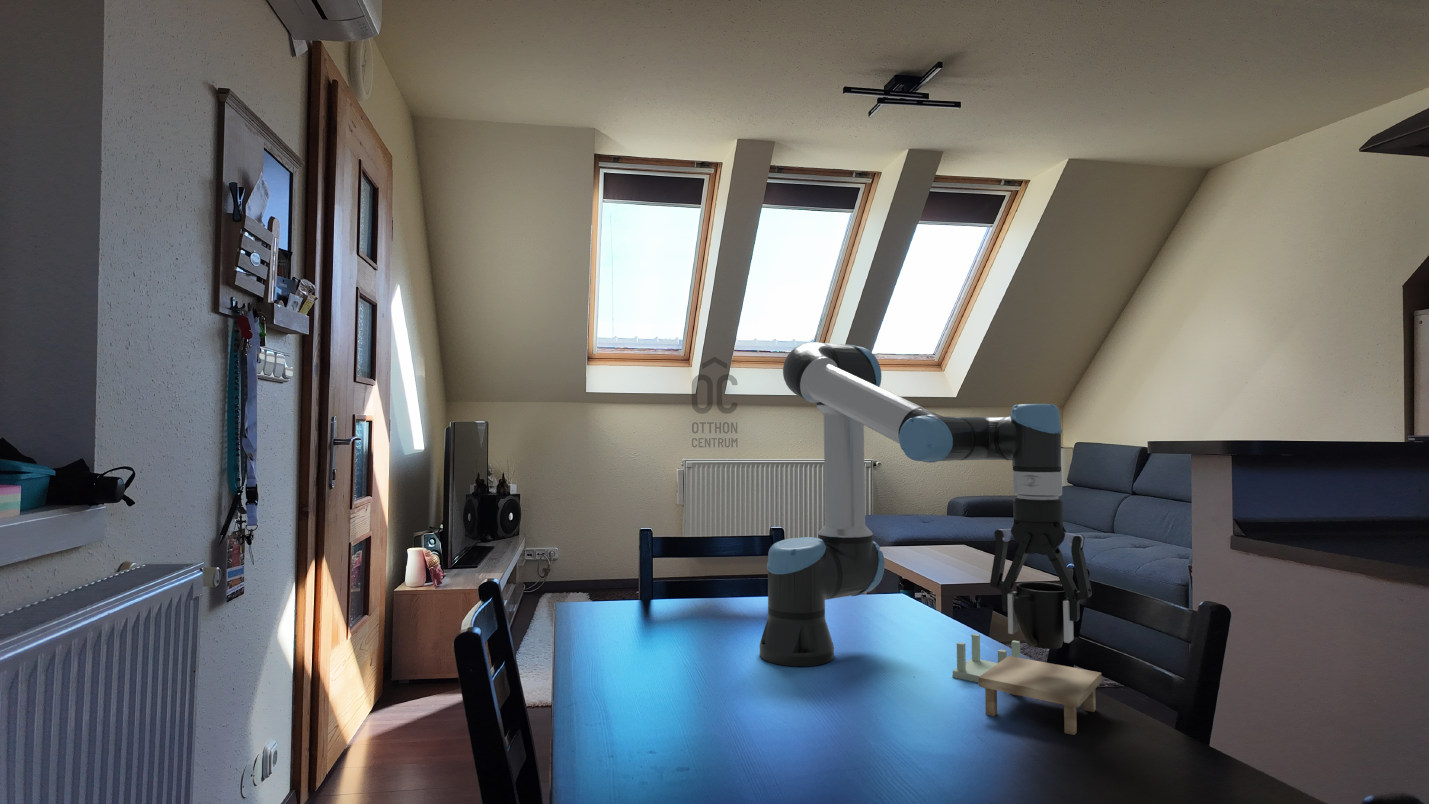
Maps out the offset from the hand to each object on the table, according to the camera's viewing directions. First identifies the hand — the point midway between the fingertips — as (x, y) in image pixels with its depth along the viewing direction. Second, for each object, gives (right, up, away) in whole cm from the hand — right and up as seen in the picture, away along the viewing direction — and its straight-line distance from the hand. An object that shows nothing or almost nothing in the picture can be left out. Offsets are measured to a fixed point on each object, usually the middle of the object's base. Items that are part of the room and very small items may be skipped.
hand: (1040, 636), depth 125 cm
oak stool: (0, -12, 0) cm, 12 cm away
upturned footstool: (-2, -13, +18) cm, 22 cm away
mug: (0, -2, 0) cm, 2 cm away
